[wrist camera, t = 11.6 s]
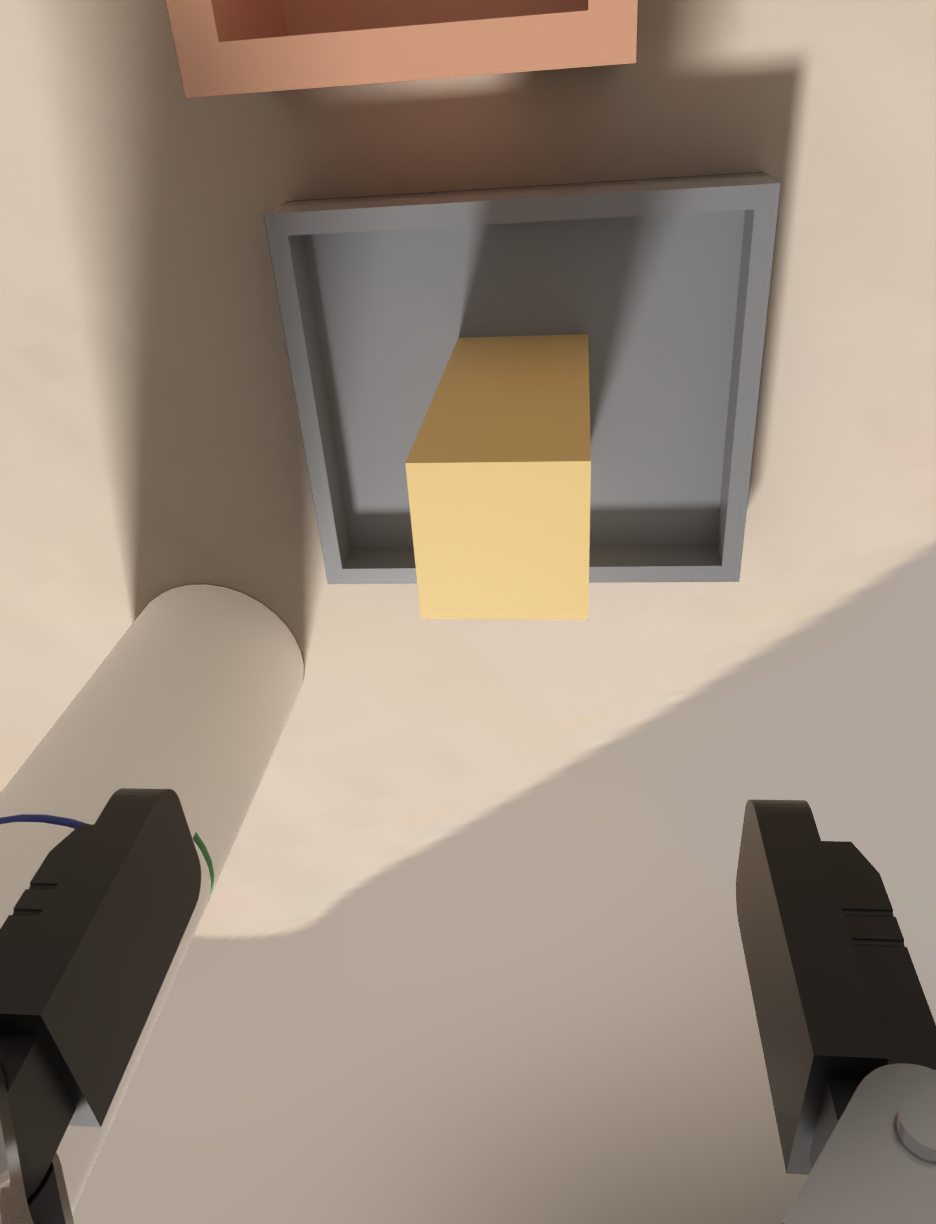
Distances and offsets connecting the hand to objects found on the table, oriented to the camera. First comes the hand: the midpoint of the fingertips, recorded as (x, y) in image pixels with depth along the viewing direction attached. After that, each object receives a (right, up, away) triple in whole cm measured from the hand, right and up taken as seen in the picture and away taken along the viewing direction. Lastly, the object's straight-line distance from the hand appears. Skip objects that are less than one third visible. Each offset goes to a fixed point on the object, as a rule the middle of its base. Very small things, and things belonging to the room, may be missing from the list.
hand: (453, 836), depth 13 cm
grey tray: (+2, +11, +17) cm, 20 cm away
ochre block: (+2, +10, +16) cm, 19 cm away
